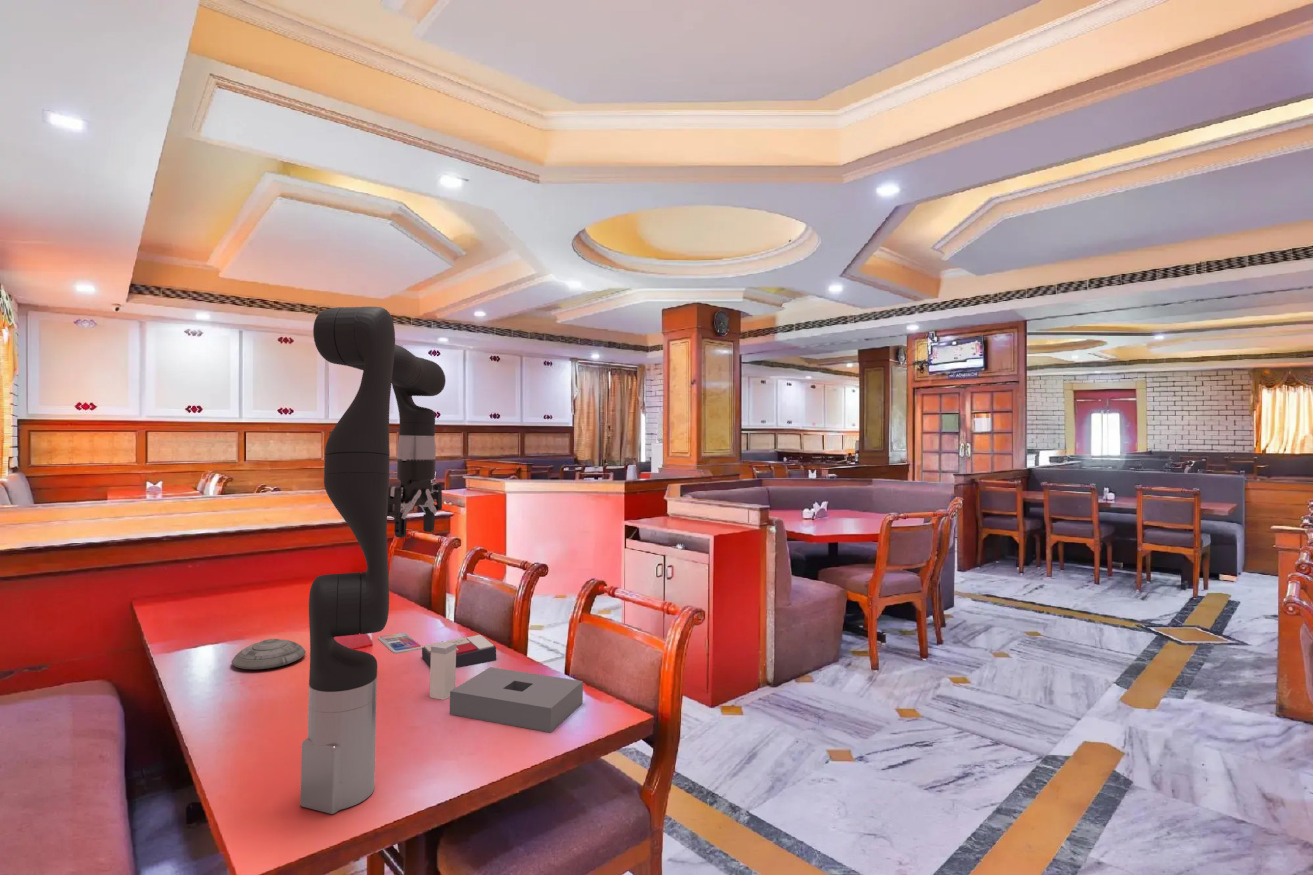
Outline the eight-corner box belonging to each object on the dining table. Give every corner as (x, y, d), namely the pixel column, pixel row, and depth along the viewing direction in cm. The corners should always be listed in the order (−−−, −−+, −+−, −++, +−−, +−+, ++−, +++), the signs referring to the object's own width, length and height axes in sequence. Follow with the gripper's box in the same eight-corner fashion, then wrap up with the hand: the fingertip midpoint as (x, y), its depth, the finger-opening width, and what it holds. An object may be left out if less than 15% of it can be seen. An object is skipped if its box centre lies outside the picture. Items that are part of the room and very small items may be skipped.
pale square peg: (444, 699, 130) (445, 648, 130) (429, 697, 131) (430, 646, 131) (455, 693, 133) (456, 643, 133) (440, 690, 134) (442, 641, 134)
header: (550, 732, 116) (551, 708, 116) (449, 714, 123) (450, 691, 123) (582, 702, 130) (583, 681, 130) (489, 687, 136) (490, 667, 136)
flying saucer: (246, 679, 139) (247, 654, 139) (220, 664, 148) (221, 640, 148) (317, 661, 151) (317, 638, 151) (289, 648, 160) (289, 626, 160)
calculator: (421, 644, 154) (481, 631, 162) (421, 661, 154) (482, 648, 163) (433, 657, 145) (496, 643, 153) (433, 676, 145) (497, 661, 153)
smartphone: (405, 631, 173) (424, 646, 161) (405, 635, 173) (424, 650, 161) (377, 636, 168) (394, 651, 156) (376, 639, 168) (394, 655, 156)
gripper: (424, 456, 141) (422, 528, 140) (377, 457, 127) (375, 537, 127) (452, 457, 138) (451, 531, 138) (407, 458, 125) (405, 540, 125)
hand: (414, 534), depth 133 cm, fingers open, 8 cm apart
